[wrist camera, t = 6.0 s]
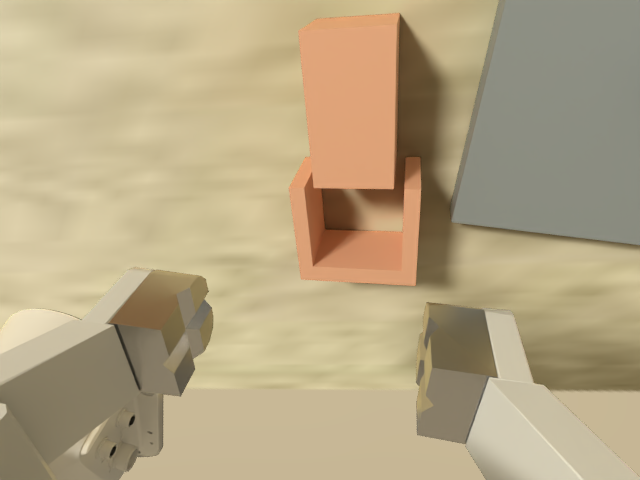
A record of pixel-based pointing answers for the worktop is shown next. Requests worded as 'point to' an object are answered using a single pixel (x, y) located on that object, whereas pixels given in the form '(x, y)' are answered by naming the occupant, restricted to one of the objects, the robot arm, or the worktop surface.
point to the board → (557, 123)
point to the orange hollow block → (353, 150)
